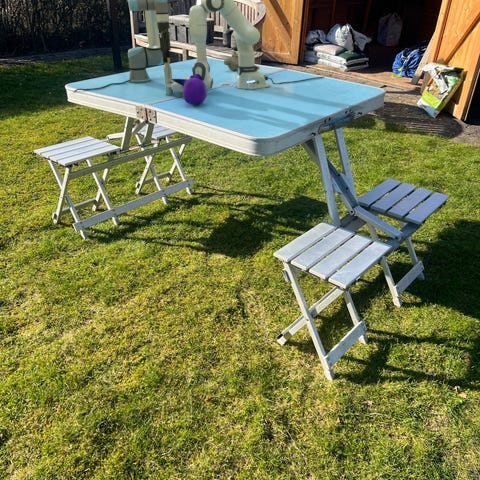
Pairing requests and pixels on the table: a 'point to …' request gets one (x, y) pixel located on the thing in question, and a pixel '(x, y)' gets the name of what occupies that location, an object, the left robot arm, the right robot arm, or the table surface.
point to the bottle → (168, 78)
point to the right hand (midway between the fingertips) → (167, 84)
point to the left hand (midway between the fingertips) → (166, 61)
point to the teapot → (232, 62)
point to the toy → (193, 89)
